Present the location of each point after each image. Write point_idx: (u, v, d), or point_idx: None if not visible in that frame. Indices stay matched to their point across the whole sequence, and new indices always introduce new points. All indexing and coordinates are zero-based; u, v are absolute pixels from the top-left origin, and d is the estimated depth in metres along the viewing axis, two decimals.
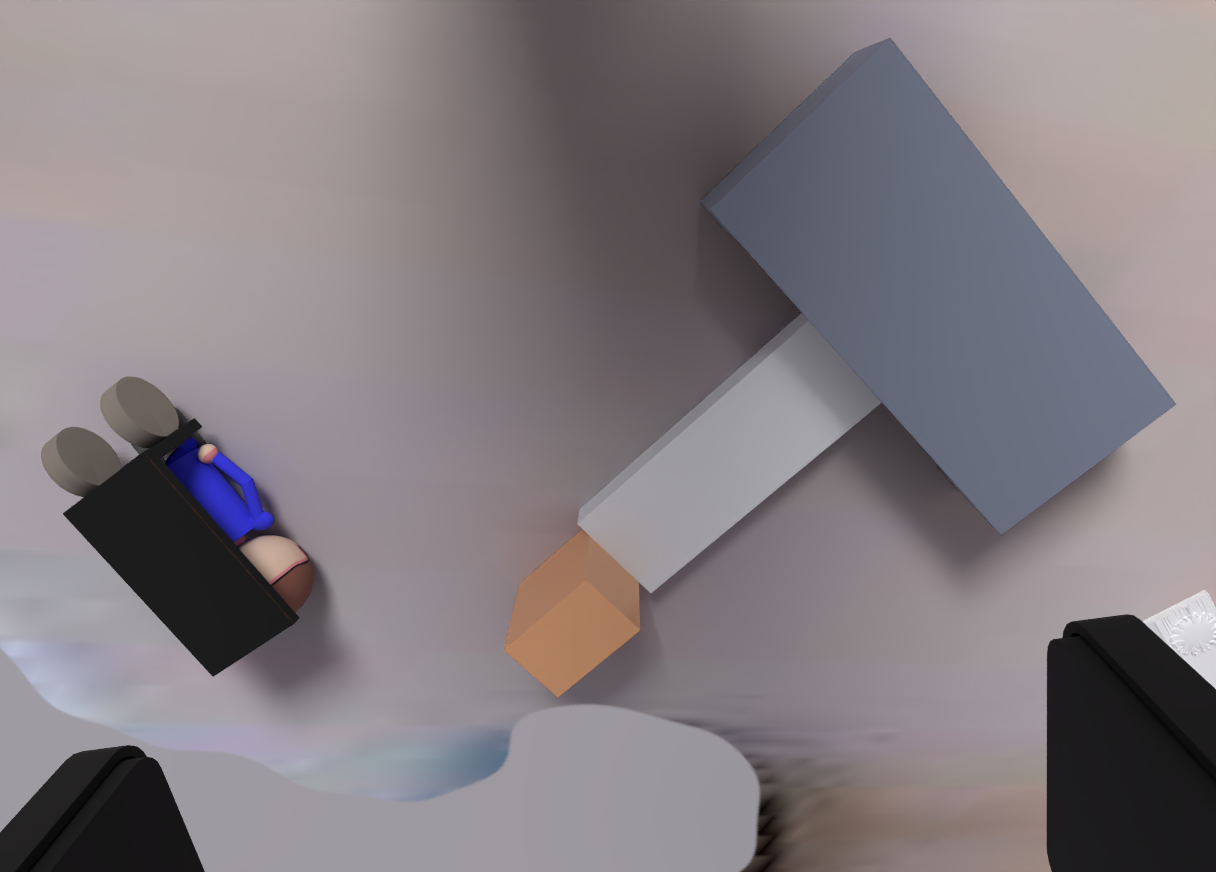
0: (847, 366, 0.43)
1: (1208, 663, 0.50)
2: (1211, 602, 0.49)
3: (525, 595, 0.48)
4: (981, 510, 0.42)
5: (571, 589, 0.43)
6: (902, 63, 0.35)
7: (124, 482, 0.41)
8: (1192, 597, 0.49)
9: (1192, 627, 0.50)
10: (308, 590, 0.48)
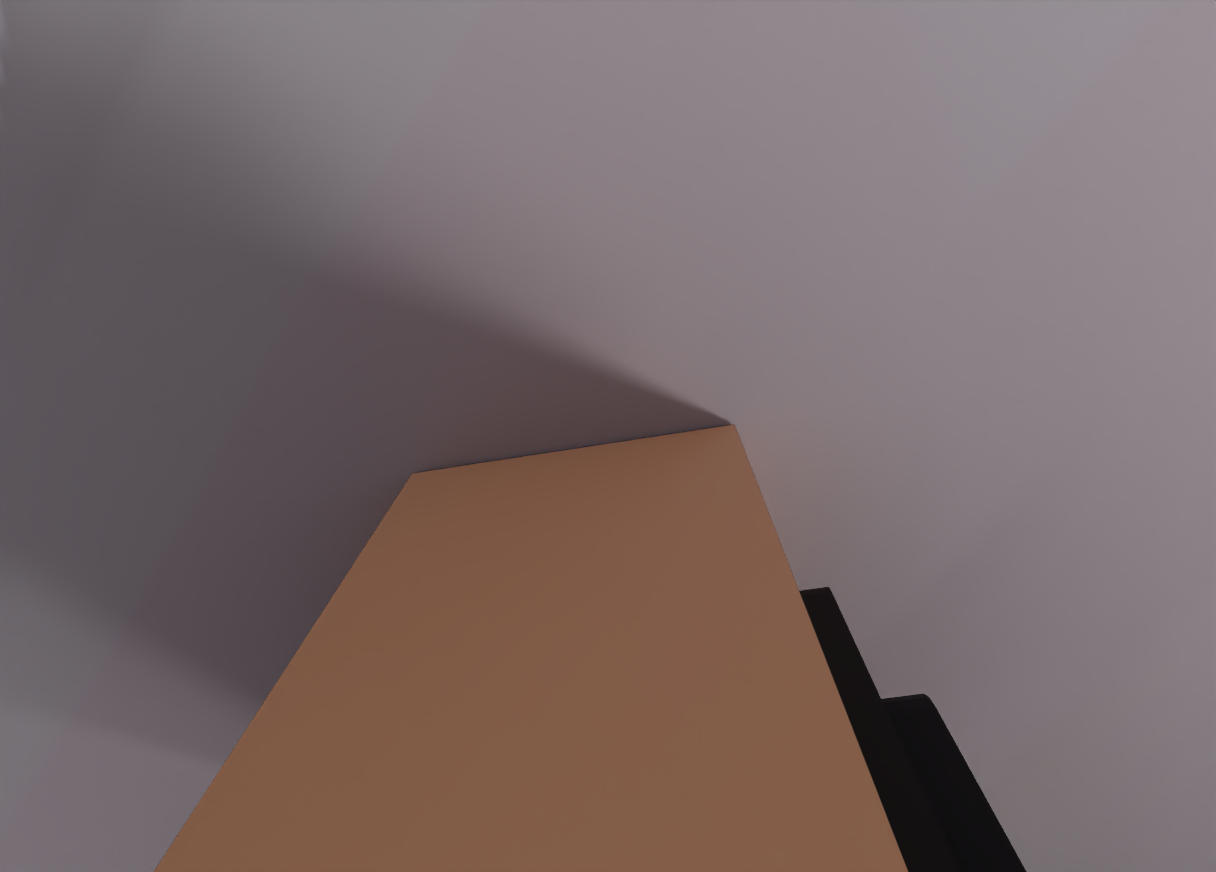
0: None
1: None
2: None
3: None
4: None
5: None
6: None
7: None
8: None
9: None
10: None
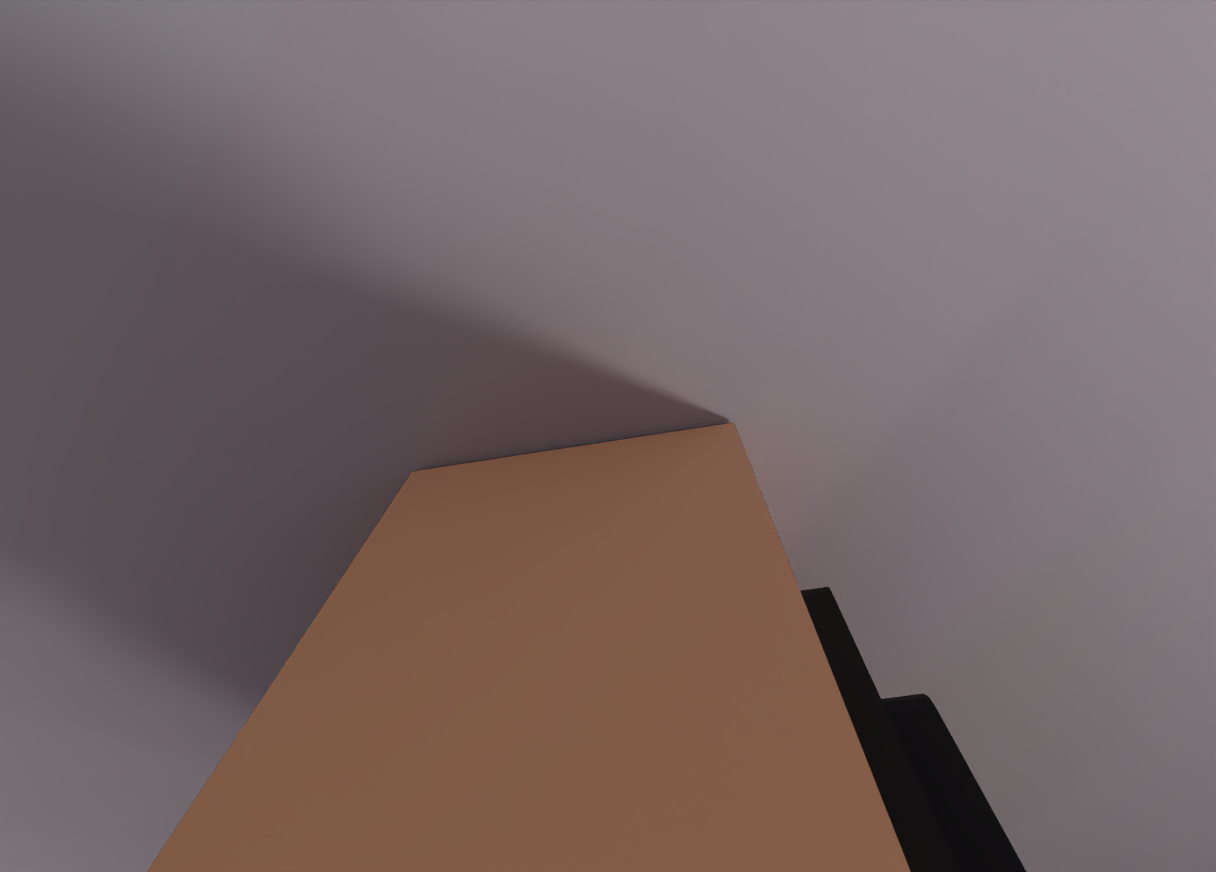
0: None
1: None
2: None
3: None
4: None
5: None
6: None
7: None
8: None
9: None
10: None
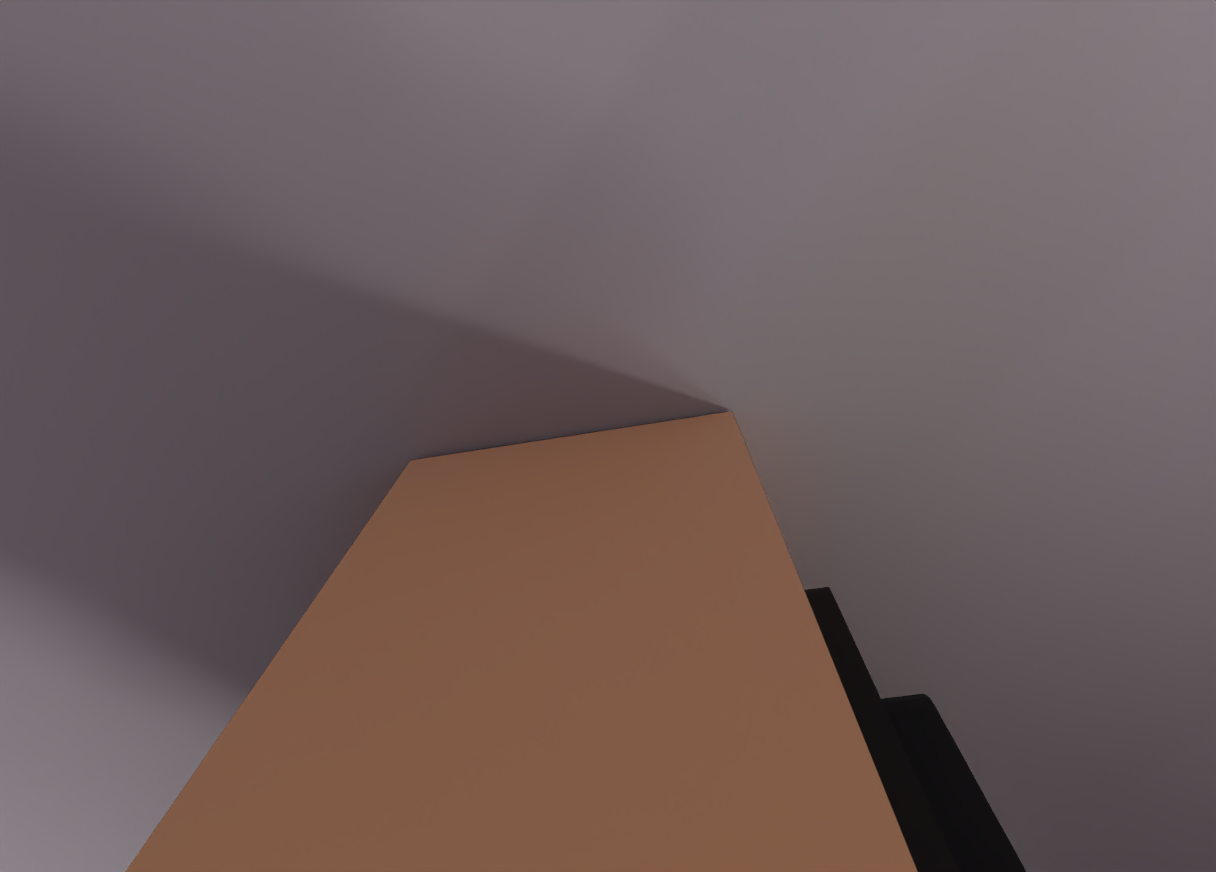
0: None
1: None
2: None
3: None
4: None
5: None
6: None
7: None
8: None
9: None
10: None
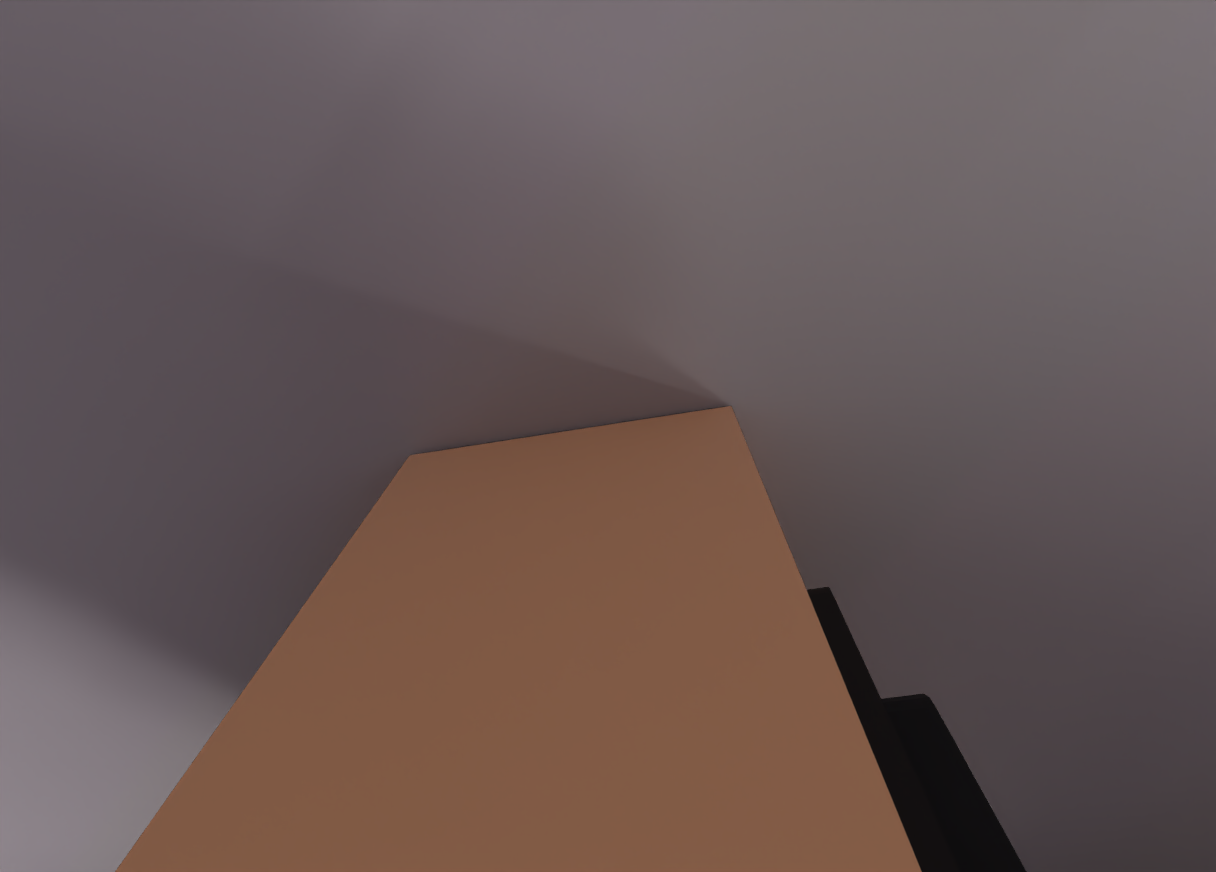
0: None
1: None
2: None
3: None
4: None
5: None
6: None
7: None
8: None
9: None
10: None
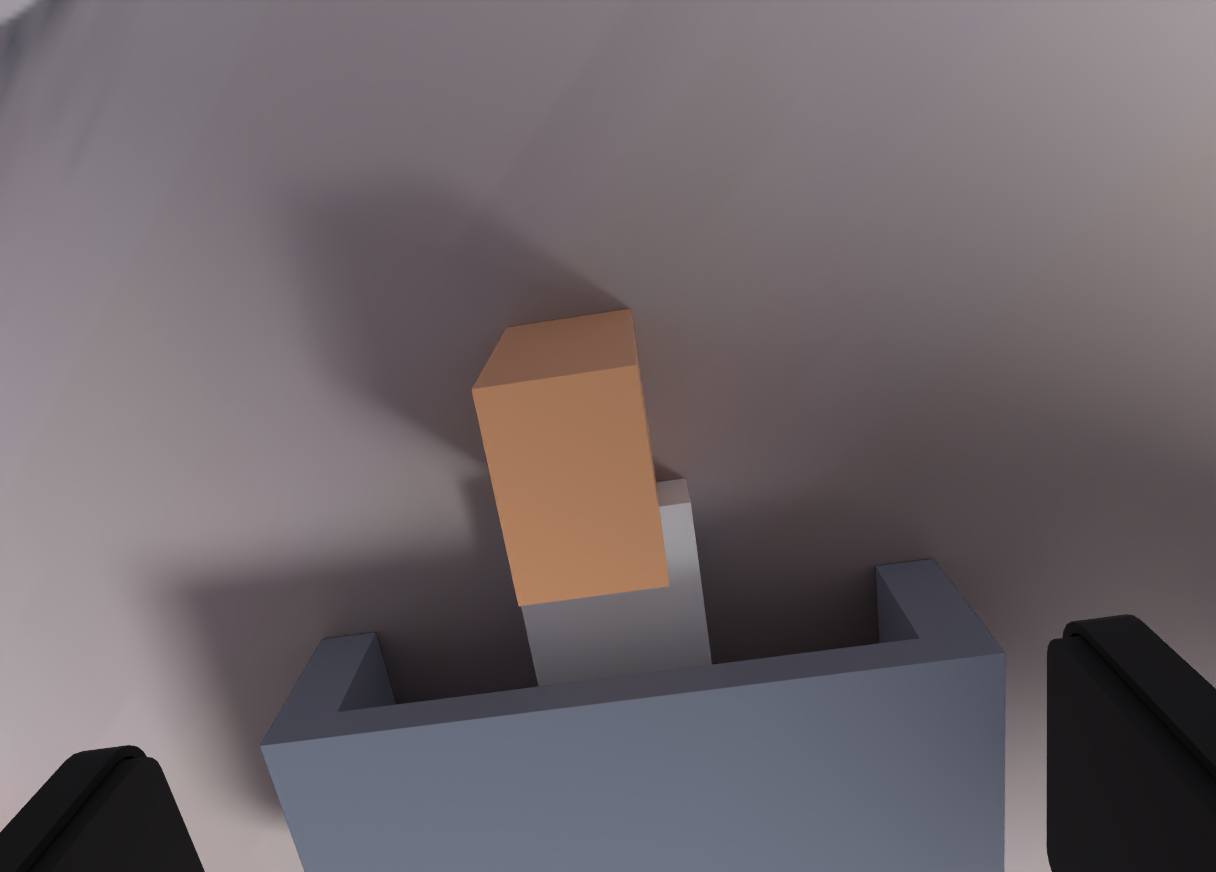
0: None
1: None
2: None
3: None
4: (317, 740, 0.25)
5: (663, 545, 0.22)
6: None
7: None
8: None
9: None
10: None
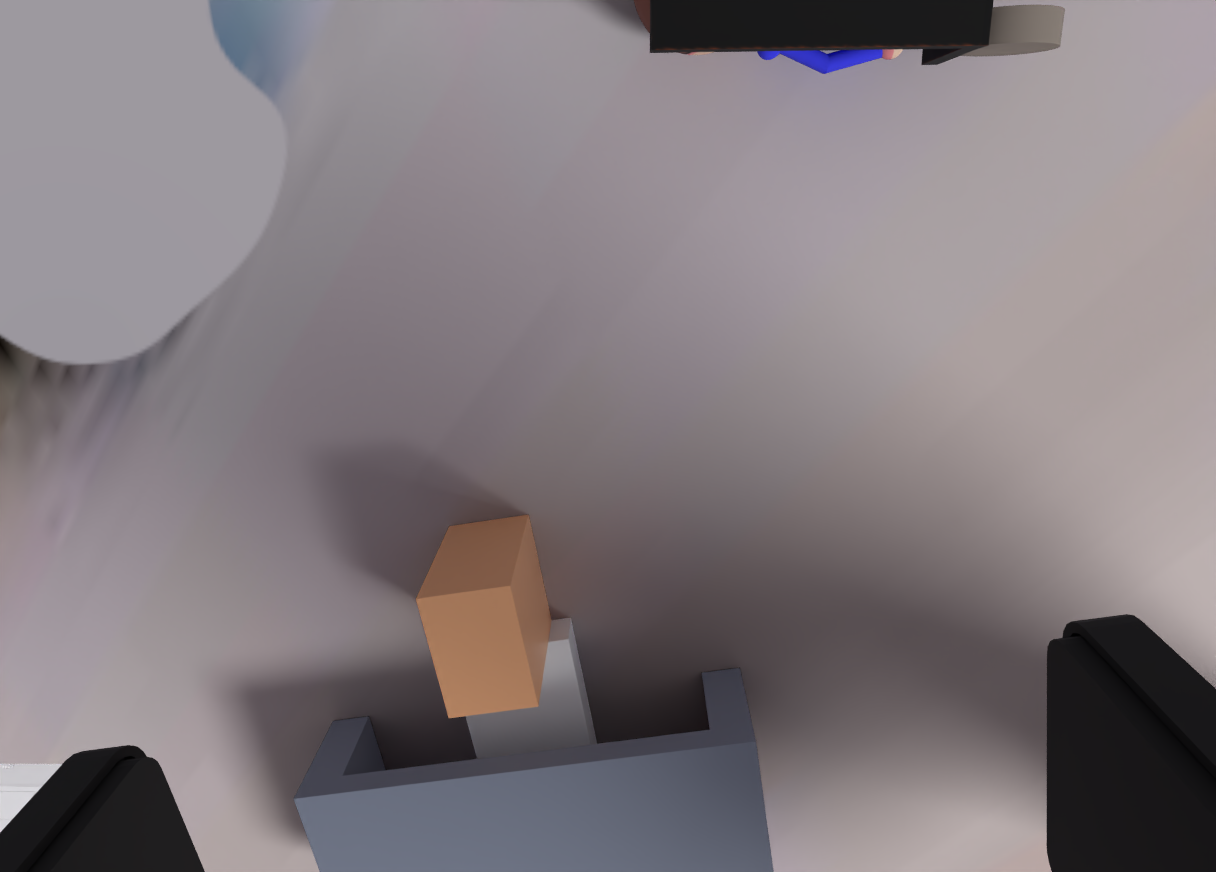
0: None
1: (14, 807, 0.47)
2: None
3: (526, 554, 0.39)
4: (329, 795, 0.40)
5: (534, 682, 0.36)
6: None
7: None
8: None
9: None
10: (648, 29, 0.31)
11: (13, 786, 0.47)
